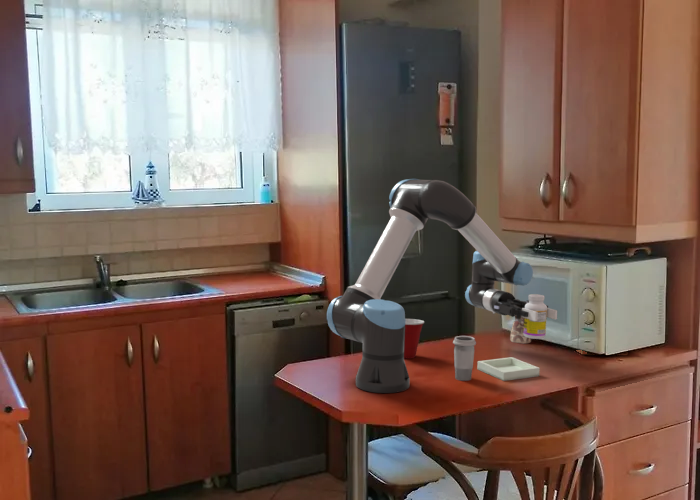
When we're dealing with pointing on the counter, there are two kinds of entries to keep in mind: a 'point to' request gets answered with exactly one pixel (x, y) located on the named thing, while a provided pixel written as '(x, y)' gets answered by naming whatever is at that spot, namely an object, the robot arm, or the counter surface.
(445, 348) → the counter surface
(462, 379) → the cup
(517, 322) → the figurine
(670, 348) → the counter surface
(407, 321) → the plastic cup
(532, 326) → the supplement bottle
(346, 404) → the counter surface
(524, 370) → the tray
